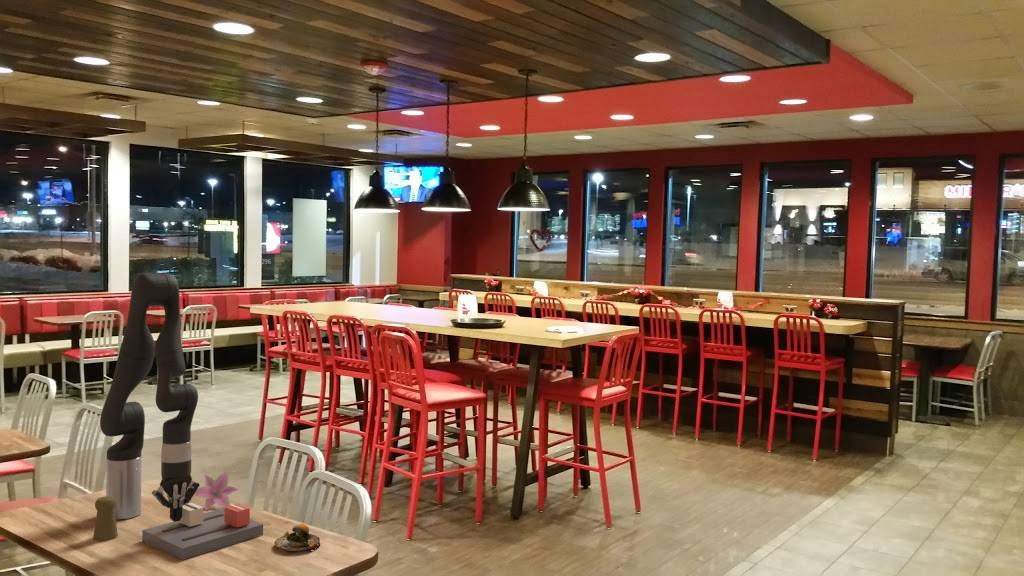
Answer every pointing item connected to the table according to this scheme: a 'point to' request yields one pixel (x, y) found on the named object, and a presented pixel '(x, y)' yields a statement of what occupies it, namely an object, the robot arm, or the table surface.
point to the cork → (105, 519)
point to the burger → (298, 539)
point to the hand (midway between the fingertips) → (175, 520)
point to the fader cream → (191, 514)
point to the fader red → (237, 515)
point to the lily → (216, 491)
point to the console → (199, 535)
